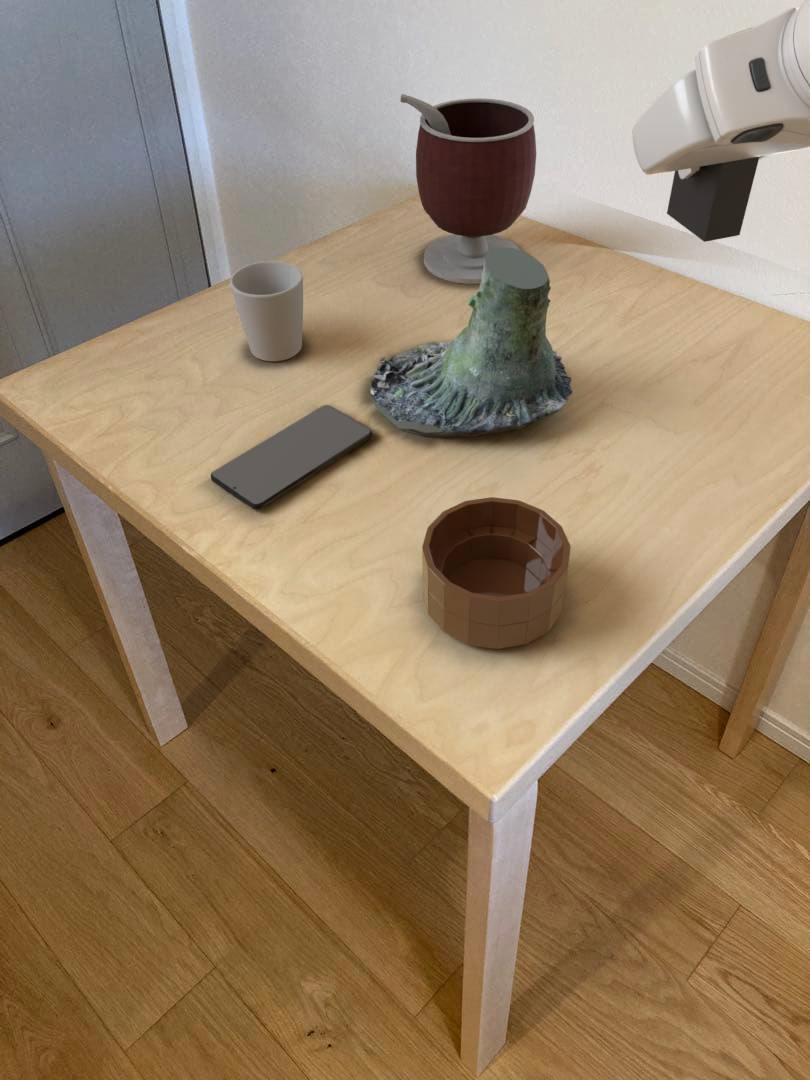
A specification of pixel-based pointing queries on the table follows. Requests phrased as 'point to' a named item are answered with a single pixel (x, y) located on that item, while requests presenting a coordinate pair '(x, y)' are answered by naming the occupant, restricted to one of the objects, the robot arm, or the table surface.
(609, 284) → the table surface
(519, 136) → the mate gourd
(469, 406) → the tree stump
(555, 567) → the bowl
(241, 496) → the smartphone
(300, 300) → the cup
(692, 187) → the case
